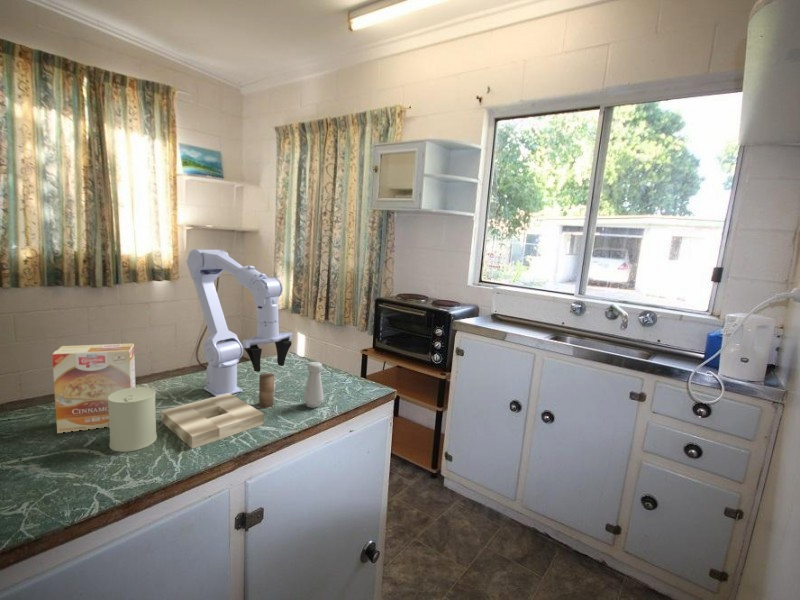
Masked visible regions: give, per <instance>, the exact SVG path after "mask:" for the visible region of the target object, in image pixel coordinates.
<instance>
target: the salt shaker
mask: <svg viewBox="0 0 800 600" xmlns="http://www.w3.org/2000/svg"><path fill="white" fill-rule="evenodd" d="M306 369H307V372H308V375H307V381H306V385H305V389H304V394H303V402H304V403H305V405H306V407H308V408H309V407H310V408H311V409H315V407H317V408H319V407H320V406H321V405H322V402H323V401H324V390H323V384H322V382H323V381H322V376H321V372H322V371H323V363H321V362H319V361H311V362H309V363H308V364H307V368H306Z"/></svg>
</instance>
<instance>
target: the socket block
mask: <svg viewBox="0 0 800 600" xmlns="http://www.w3.org/2000/svg"><path fill="white" fill-rule="evenodd" d="M160 414H161V423H162V424H164V425H165V426H166V428H168V429H169V430H170V431H171V432H173V433H174V434H175V435H176V436H177V437H178V438H179V439H181V440H182V441H183V442H184V443H185V444H186V445H187V446H188V447H190V448H191V449H192V450H193V449H197V448H198V447H199V448H200V447H202V446H204V445H207V444H211V443H213V442H217V441H220V440H223V439H225V438H228V437H231V436H233V435H236V434H240V433H243V432H245V431H248V430H251V429H253V428H257V427H259V426H262V425H264V418H265V413H264V412H262V411H260V410H259V409H257V408H255V407H254V406H252V405H250V404H249V403H247V402H245V401H244V400H242V399H240V398H239V397H237V396H235V395H234V394H230V393H228V394H224V395H220V396H212V397H210V398H205V399H201V400H197V401H193V402H190V403H187V404H186V403H185V404H182V405H179V406H178V405H177V406H175V407H170V408H166V409H163V410H161V413H160Z"/></svg>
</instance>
